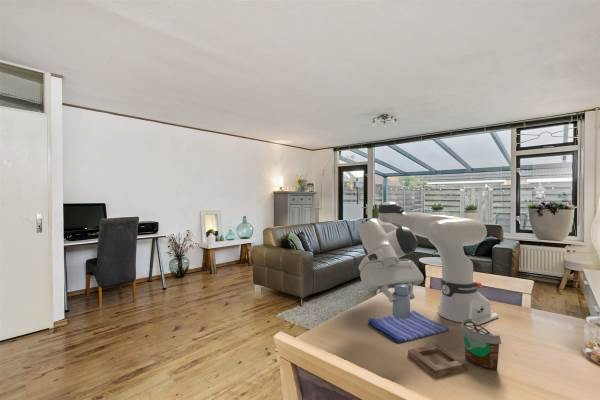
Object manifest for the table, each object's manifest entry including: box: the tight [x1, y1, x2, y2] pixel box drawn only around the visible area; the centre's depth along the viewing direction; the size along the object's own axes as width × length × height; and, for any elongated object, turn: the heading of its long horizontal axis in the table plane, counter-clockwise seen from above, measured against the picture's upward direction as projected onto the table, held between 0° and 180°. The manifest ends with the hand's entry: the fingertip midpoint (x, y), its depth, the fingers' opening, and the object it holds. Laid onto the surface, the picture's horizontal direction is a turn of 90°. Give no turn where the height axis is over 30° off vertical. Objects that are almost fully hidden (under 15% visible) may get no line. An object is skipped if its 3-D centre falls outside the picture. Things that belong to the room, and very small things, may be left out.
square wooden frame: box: [407, 343, 469, 378], centre depth 83 cm, size 11×11×2 cm
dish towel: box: [367, 310, 450, 344], centre depth 106 cm, size 17×24×3 cm
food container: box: [460, 319, 502, 371], centre depth 84 cm, size 12×6×10 cm, turn 5°
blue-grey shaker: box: [392, 284, 411, 319], centre depth 87 cm, size 5×5×9 cm
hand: (402, 299), depth 87 cm, fingers closed on blue-grey shaker, 5 cm apart
